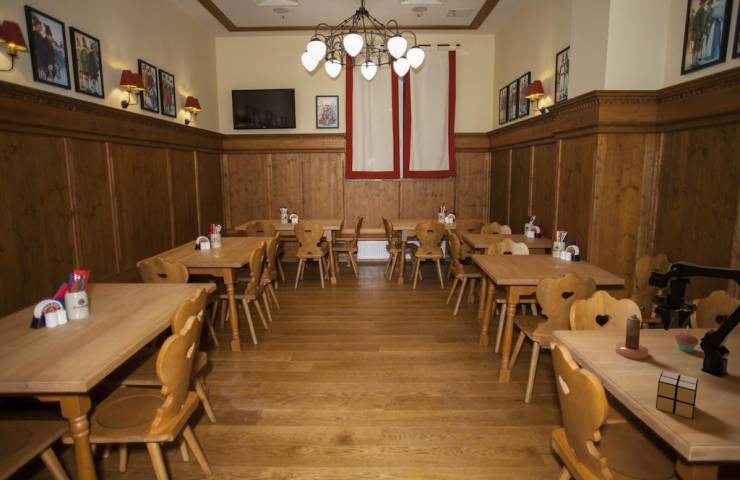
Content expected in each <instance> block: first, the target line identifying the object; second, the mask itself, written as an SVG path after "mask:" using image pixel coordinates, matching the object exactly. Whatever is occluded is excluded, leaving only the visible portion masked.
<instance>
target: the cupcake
mask: <svg viewBox="0 0 740 480" xmlns="http://www.w3.org/2000/svg"><path fill="white" fill-rule="evenodd" d="M689 329H690V328H689V325H687V326H686V332H685V333H684V332H683V333H682V332H681V333H678V334H676V335H675V336H674V341H676V344H677V345H678V349H679V350H680V351H682V352H685V353H691V352H693V351H694V349H695V348H696V346H698V345H699V339H698V338H697V337H696V336H694V335H692V334H690V333H689Z"/></svg>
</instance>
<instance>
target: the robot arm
mask: <svg viewBox="0 0 740 480" xmlns="http://www.w3.org/2000/svg"><path fill="white" fill-rule="evenodd" d="M692 277H705V278H713V279H714V278H715V279H724V280H733V281H734V282H735V283H736V284H737V285H738V287H740V268H731V267H730V268H729V267H718V266H717V267H716V266H706V265H699V264H697V263H694V262H689V261H681V260H680V261H678V262H675V263H673V264H671V265H670V267H669V270H668V271H667V272H666V273H665V272H660V271H656V270H653V271H651V275H650V276H649V279H648V282H647V284H648V286H649V287H650V288H655V289H660V290H667V289H668V288H669V290H668V291H669V292H668V293H665V295H659V294H657V295H656V294H655V295H652V297H651V302H652V303H653V304H654V305H655V306H656V307H654V309H653V312H654V314H655V315H657V316H659V317H660V319H661V322H662V325H663V329H664V330H665V331H667V332H668V331H669V329H670V328H671V326H672V323H673V321H674V320H675V318H676V316H675V315H676V312H677V313H678V327H679V328H683V326H684V325H685V324H686V323H687V322H688V320H689V319H690V318H691V317H692V316H693V314H695V313H696V312H697V311H698V306H697V304H696V303H693V302H688V301H686V300H687V299H689V297H690V296H689V295H688V293H687V292H688V285H692V284H695V281H694V280H693V279H692ZM739 325H740V304H739V305H738V306H737V308H736V309H735V310H734V311H733V312H732V313H731V314H730V315H729V316H728V317H727V318H726V319H725V321H724V322H722V323H721V325H720V326H719V327H718V328H717V329H716V330H714V329H713V328H712V329H710V330H709V331H707V332H706V333H705V334H704V336H703V337H702V338H700V339H699V341H700V342H699V346H700V347H699V348H700V349H701V351H703V353H704V354H703V355H704V357H703V361H702V368H700V370H701V371H702V372H706V373H708V374H710V375H713V376H716V377H723V376H726V375H729V374H730V373H729V371H727V368H728V362H729V359H728V358H727V357H728V356H729V355H730V354H731V352H730V350H729V349H728V348H727V347H726V346H725V344H726V342H727V340H728V339H729V336H730V335H731V333H733V331H735V330H736V328H737V327H738V326H739Z"/></svg>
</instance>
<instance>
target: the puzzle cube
mask: <svg viewBox="0 0 740 480" xmlns="http://www.w3.org/2000/svg"><path fill="white" fill-rule="evenodd" d="M698 383H699V379H698V378H696V377H691V376H687V375H682V374H681V375H680V374H679V373H674V372H670V371H666V370H662V371H661V373H660V375H659V379H658V383H657V391H656V400H655V401H656V402H655V409H656V410H660V411H662V412H666V413H669V414H674V415H677V416H680V417H684V418H687V419H690V420H693V419H694V415H695V408H696V400H697V392H698Z"/></svg>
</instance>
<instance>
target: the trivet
mask: <svg viewBox="0 0 740 480" xmlns="http://www.w3.org/2000/svg"><path fill="white" fill-rule="evenodd" d="M625 342H626V341H622V342H620V341H619V342H617V343H615V350H614V351H615V353H616V354H617V355H619V356H621V357H623V358H626V359H632V360H637V361H638V360H646V359H648V358H649V349H648V347H646V346H644V345H641V344H639V349H630V348H627V347H625Z"/></svg>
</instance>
